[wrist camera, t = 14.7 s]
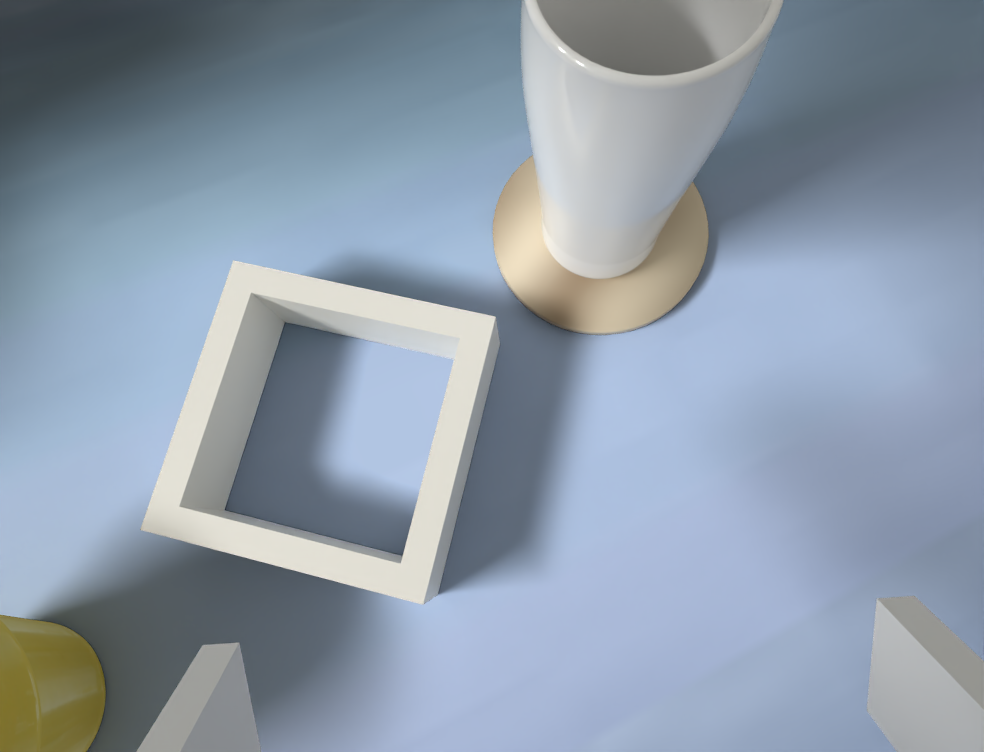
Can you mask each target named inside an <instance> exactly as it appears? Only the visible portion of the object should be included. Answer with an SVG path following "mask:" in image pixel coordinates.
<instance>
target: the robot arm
mask: <svg viewBox="0 0 984 752" xmlns="http://www.w3.org/2000/svg"><path fill="white" fill-rule="evenodd" d="M867 711H868V713H869V714H870V716H871V717H872V718H873V720H874V721H875V722H876V724H877V725H878V726H879V728H880V729H881V731H882V732H883V733H884V735H885V736H886V737H887V739H888V740H889V741H890V743H891V744H892V745H893V747H894V748H895V750H896V751H897V752H984V661H983V660H982V659H981V658H980V657H979V656H977V655H976V654H975V653H974V652H973V651H972V650H971V649H970V648H969V647H968V646H967V645H966V644H965V643H964V642H963V641H962V640H961V639H959V638H958V637H957V636H956V635H955V634H954V633H953V632H952V631H951V630H950V629H949V628H948V627H947V626H946V625H945V624H944V623H942V622H941V621H940V620H939V619H938V618H937V617H936V616H935V615H934V614H933V613H932V612H931V611H930V610H929V609H928V608H927V607H926V606H924V605H923V604H922V603H921V602H920V601H919V600H918V599H917V598H916V597H915V596H906V597H892V598H877V602H876V613H875V624H874V635H873V646H872V658H871V669H870V680H869V691H868V702H867ZM136 752H261V748H260V743H259V738H258V733H257V728H256V723H255V718H254V713H253V708H252V703H251V698H250V693H249V688H248V683H247V678H246V673H245V668H244V663H243V658H242V653H241V648H240V643H224V644H210V645H202V647H201V648H200V650H199V652H198V653H197V655H196V656H195V658H194V660H193V661H192V663H191V664H190V666H189V668H188V669H187V671H186V673H185V674H184V676H183V677H182V679H181V681H180V682H179V684H178V685H177V687H176V689H175V690H174V692H173V693H172V695H171V697H170V698H169V700H168V702H167V703H166V705H165V706H164V708H163V710H162V711H161V713H160V714H159V716H158V718H157V719H156V721H155V722H154V724H153V726H152V727H151V729H150V731H149V732H148V734H147V735H146V737H145V739H144V740H143V742H142V743H141V745H140V747H139V748H138V750H137V751H136Z"/></svg>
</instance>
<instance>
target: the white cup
mask: <svg viewBox="0 0 984 752" xmlns="http://www.w3.org/2000/svg"><path fill="white" fill-rule="evenodd" d="M783 1H784V0H521V72H522V84H523V94H524V102H525V110H526V116H527V123H528V129H529V135H530V141H531V147H532V153H533V159H534V166H535V172H536V178H537V185H538V192H539V198H540V205H541V229H542V235H543V239H544V242H545V244H546V247H547V249H548V250H549V252H550V254H551V255H552V256H553V258H554V259H555V260H556V261H557V262H558V263H559V264H560V265H561V266H563V267H564V268H565V269H567V270H568V271H570V272H572V273H574V274H576V275H579V276H582V277H585V278H591V279H609V278H614V277H618V276H621V275H623V274H626V273H628V272H630V271H631V270H633V269H635V268H636V267H637V266H639V265H640V264H641V263H642V262H643V261H644V260H645V259H646V258H647V257H648V255H649V254H650V252H651V251H652V249H653V247H654V245H655V243H656V241H657V239H658V236H659V234H660V232H661V230H662V229H663V227H664V225H665V224H666V222H667V221H668V219H669V217H670V216H671V214H672V213H673V211H674V210H675V208H676V206H677V205H678V203H679V202H680V200H681V199H682V197H683V196H684V194H685V192H686V191H687V189H688V188H689V186H690V185H691V183H692V182H693V180H694V179H695V177H696V176H697V174H698V173H699V171H700V169H701V168H702V166H703V165H704V163H705V162H706V160H707V159H708V157H709V156H710V154H711V153H712V151H713V150H714V148H715V146H716V145H717V143H718V142H719V140H720V138H721V137H722V135H723V134H724V132H725V130H726V129H727V127H728V125H729V123H730V122H731V120H732V118H733V116H734V114H735V112H736V111H737V109H738V107H739V105H740V103H741V101H742V99H743V97H744V95H745V93H746V91H747V89H748V87H749V85H750V83H751V81H752V78H753V76H754V74H755V72H756V69H757V67H758V65H759V62H760V60H761V58H762V55H763V53H764V50H765V48H766V45H767V43H768V40H769V38H770V35H771V33H772V30H773V27H774V25H775V23H776V21H777V18H778V16H779V13H780V11H781V8H782V4H783Z"/></svg>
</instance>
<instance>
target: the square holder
mask: <svg viewBox="0 0 984 752" xmlns="http://www.w3.org/2000/svg"><path fill="white" fill-rule="evenodd" d="M285 322H287V323H292V324H296V325H301V326H305V327H310V328H314V329H319V330H323V331H328V332H332V333H337V334H341V335H346V336H350V337H355V338H359V339H364V340H368V341H372V342H377V343H381V344H386V345H390V346H395V347H399V348H404V349H408V350H413V351H417V352H422V353H426V354H431V355H435V356H440V357H444V358H449V359H453V360H454V362H453V366H452V370H451V374H450V377H449V381H448V385H447V389H446V393H445V397H444V400H443V404H442V408H441V412H440V416H439V419H438V423H437V427H436V431H435V435H434V438H433V442H432V446H431V450H430V454H429V458H428V461H427V465H426V469H425V473H424V477H423V480H422V484H421V488H420V492H419V496H418V499H417V503H416V507H415V511H414V515H413V519H412V522H411V526H410V530H409V534H408V538H407V541H406V545H405V549H404V553H403V556H401V555H397V554H393V553H389V552H385V551H381V550H377V549H374V548H370V547H366V546H362V545H358V544H354V543H350V542H346V541H342V540H339V539H335V538H331V537H327V536H323V535H319V534H315V533H311V532H307V531H304V530H300V529H296V528H292V527H288V526H284V525H280V524H276V523H272V522H269V521H265V520H261V519H257V518H253V517H249V516H245V515H241V514H237V513H234V512H230V511H226V510H225V507H226V504H227V501H228V498H229V495H230V492H231V489H232V485H233V482H234V479H235V476H236V473H237V470H238V467H239V464H240V461H241V457H242V454H243V451H244V448H245V445H246V442H247V439H248V436H249V433H250V429H251V426H252V423H253V420H254V417H255V414H256V411H257V408H258V405H259V402H260V398H261V395H262V392H263V389H264V386H265V383H266V380H267V377H268V374H269V370H270V367H271V364H272V361H273V358H274V355H275V352H276V349H277V346H278V342H279V339H280V336H281V333H282V330H283V327H284V324H285ZM499 346H500V340H499V334H498V328H497V321H496V317H495V316H490V315H485V314H481V313H476V312H471V311H467V310H462V309H457V308H453V307H448V306H443V305H439V304H434V303H429V302H425V301H420V300H415V299H411V298H406V297H401V296H397V295H392V294H387V293H383V292H378V291H373V290H369V289H364V288H359V287H355V286H350V285H345V284H341V283H336V282H331V281H327V280H322V279H317V278H313V277H308V276H303V275H299V274H294V273H289V272H285V271H280V270H275V269H271V268H266V267H261V266H257V265H252V264H247V263H243V262H238V261H233V263H232V266H231V269H230V272H229V275H228V278H227V280H226V283H225V286H224V289H223V292H222V295H221V298H220V301H219V304H218V307H217V309H216V312H215V315H214V318H213V321H212V324H211V327H210V330H209V332H208V335H207V338H206V341H205V344H204V347H203V350H202V353H201V356H200V359H199V361H198V364H197V367H196V370H195V373H194V376H193V379H192V382H191V384H190V387H189V390H188V393H187V396H186V399H185V402H184V405H183V408H182V410H181V413H180V416H179V419H178V422H177V425H176V428H175V431H174V434H173V436H172V439H171V442H170V445H169V448H168V451H167V454H166V457H165V460H164V462H163V465H162V468H161V471H160V474H159V477H158V480H157V483H156V486H155V488H154V491H153V494H152V497H151V500H150V503H149V506H148V509H147V512H146V514H145V517H144V520H143V523H142V526H141V529H140V530H143V531H146V532H150V533H154V534H158V535H162V536H165V537H169V538H173V539H177V540H181V541H184V542H188V543H192V544H196V545H199V546H203V547H207V548H211V549H215V550H218V551H222V552H226V553H230V554H233V555H237V556H241V557H245V558H249V559H252V560H256V561H260V562H264V563H268V564H271V565H275V566H279V567H283V568H286V569H290V570H294V571H298V572H302V573H305V574H309V575H313V576H317V577H321V578H324V579H328V580H332V581H336V582H339V583H343V584H347V585H351V586H355V587H358V588H362V589H366V590H370V591H373V592H377V593H381V594H385V595H389V596H392V597H396V598H400V599H404V600H408V601H411V602H415V603H419V604H425V603H426V602H428V601H430V600H431V599H433V598H434V597H436V596H437V595H438V592H439V588H440V584H441V580H442V576H443V572H444V568H445V564H446V560H447V556H448V552H449V548H450V544H451V540H452V536H453V532H454V528H455V524H456V520H457V516H458V512H459V507H460V503H461V499H462V495H463V491H464V487H465V483H466V479H467V475H468V471H469V467H470V463H471V459H472V455H473V451H474V447H475V443H476V439H477V435H478V431H479V427H480V423H481V419H482V415H483V411H484V407H485V403H486V399H487V395H488V391H489V387H490V383H491V379H492V375H493V371H494V367H495V363H496V358H497V354H498V350H499Z"/></svg>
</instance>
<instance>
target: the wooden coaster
mask: <svg viewBox="0 0 984 752" xmlns="http://www.w3.org/2000/svg"><path fill="white" fill-rule="evenodd" d="M708 237H709V235H708V220H707V215H706V210H705V207H704V204H703V201H702V198H701V196H700V194H699V192H698V190H697V188H696V186H695V184H694V183H693V182H692V183H691V185H690V186H689V188H688V189H687V191H686V192H685V194H684V196H683V197H682V199H681V200H680V202H679V203H678V205H677V206H676V208H675V210H674V211H673V213H672V214H671V216H670V217H669V219H668V221H667V222H666V224H665V225H664V227H663V229H662V230H661V232H660V234H659V236H658V239H657V241H656V243H655V245H654V247H653V249H652V251H651V252H650V254H649V255H648V257H647V258H646V259H645V260H644V261H643V262H642V263H641V264H640V265H639V266H637V267H636V268H635V269H633V270H631V271H630V272H628V273H626V274H623V275H621V276H618V277H614V278H609V279H591V278H585V277H582V276H579V275H576V274H574V273H572V272H570V271H568V270H567V269H565V268H564V267H563V266H561V265H560V264H559V263H558V262H557V261H556V260H555V259H554V258H553V256H552V255H551V254H550V252H549V250H548V249H547V247H546V244H545V242H544V239H543V235H542V229H541V205H540V198H539V192H538V185H537V178H536V172H535V166H534V159H533V155H532V156H531V157H529V158H528V159H527V160H526V161H525V162H524V163H523V164H521V165H520V167H519V168H518V169H517V170H516V171H515V172H514V173H513V175H512V176H511V177H510V179H509V180H508V182H507V183H506V185H505V187H504V189H503V191H502V193H501V195H500V197H499V200H498V203H497V206H496V209H495V215H494V220H493V241H494V250H495V255H496V259H497V263H498V266H499V269H500V271H501V274H502V276H503V278H504V280H505V282H506V283H507V285H508V287H509V288H510V290H511V291H512V292H513V294H514V295H515V296H516V298H517V299H518V300H519V301H520V302H521V303H522V304H523V305H524V306H525V307H526V308H527V309H529V310H530V311H531V312H533V313H534V314H535V315H537V316H538V317H540V318H541V319H543V320H545V321H547V322H548V323H550V324H552V325H555V326H557V327H560V328H562V329H565V330H569V331H572V332H576V333H582V334H589V335H611V334H620V333H624V332H629V331H633V330H636V329H638V328H641V327H644V326H646V325H648V324H650V323H652V322H654V321H656V320H658V319H659V318H661V317H662V316H664V315H665V314H667V313H668V312H669V311H671V310H672V309H673V308H674V307H675V306H676V305H677V304H678V303H679V302H680V301H681V300H682V299H683V297H684V296H685V295H686V294H687V293H688V291H689V290H690V288H691V287H692V285H693V283H694V282H695V280H696V278H697V277H698V275H699V273H700V270H701V268H702V266H703V263H704V260H705V256H706V252H707V246H708Z"/></svg>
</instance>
